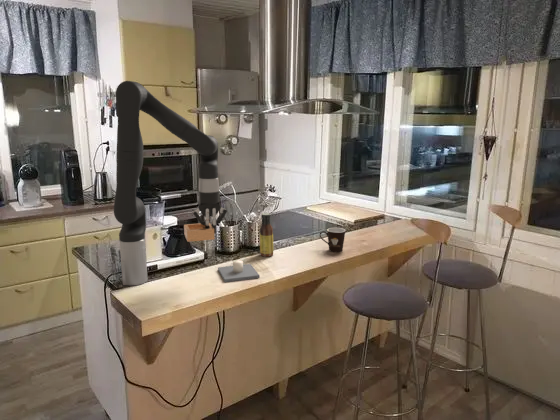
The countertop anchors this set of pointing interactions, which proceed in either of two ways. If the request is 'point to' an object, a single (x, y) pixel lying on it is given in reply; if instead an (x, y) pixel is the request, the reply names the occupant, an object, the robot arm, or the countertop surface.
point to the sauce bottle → (266, 236)
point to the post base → (237, 276)
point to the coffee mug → (335, 239)
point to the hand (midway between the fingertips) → (210, 234)
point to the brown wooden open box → (198, 232)
